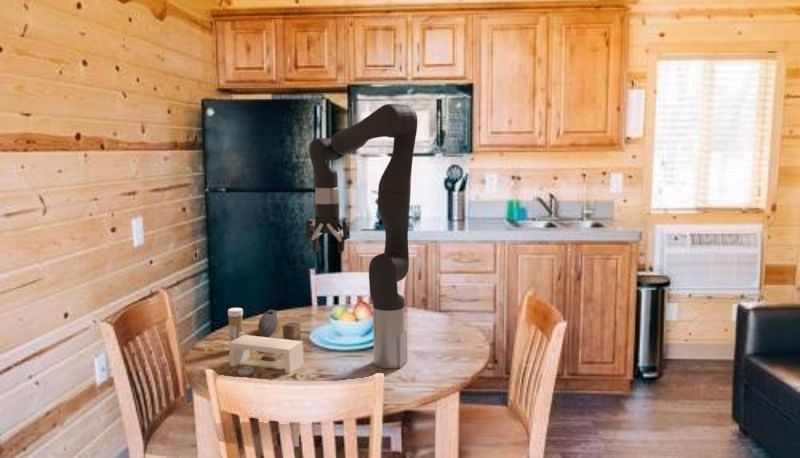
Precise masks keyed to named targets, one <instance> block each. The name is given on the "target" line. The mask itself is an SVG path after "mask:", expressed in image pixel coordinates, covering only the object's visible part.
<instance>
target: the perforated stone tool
mask: <svg viewBox="0 0 800 458" xmlns="http://www.w3.org/2000/svg"><path fill="white" fill-rule="evenodd" d="M276 311H277V310H274V309H269V310H267V311H266V312H264V313H263V315H261V318H260V319H259V321H258V327H257V332H258V334H259V337H270V335H271V334H273V333H274V332H275V330H276V329H277V327H278V324H279V320H278V317H277V312H276Z"/></svg>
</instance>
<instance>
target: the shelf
mask: <svg viewBox="0 0 800 458" xmlns="http://www.w3.org/2000/svg"><path fill="white" fill-rule="evenodd" d="M228 349H229V350H228V352H229V366H231V367H236V366H237V365H240V364H241V363H243V362H244V361H247V360H248V359H250V351H252V352H253V351H254V352H263V353H268V352H269V353H278V354H285V355H284V369H285V370H284V373H286V374H291V373H293V372H294V371H296V370H297V369H299V368H300V367H302V366H303V365H304V364H305V362H304V341H303V340H300V341H296V340H287V339H283V338H277V337H276V338H275V337H269V336H267V337H261V336H260V335H259V336H257V335H249V334H248V335H247V334H244V335H243V336H241V337H239V338H237V339H235V340H234V341H232V342H230V341H229V343H228Z"/></svg>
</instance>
